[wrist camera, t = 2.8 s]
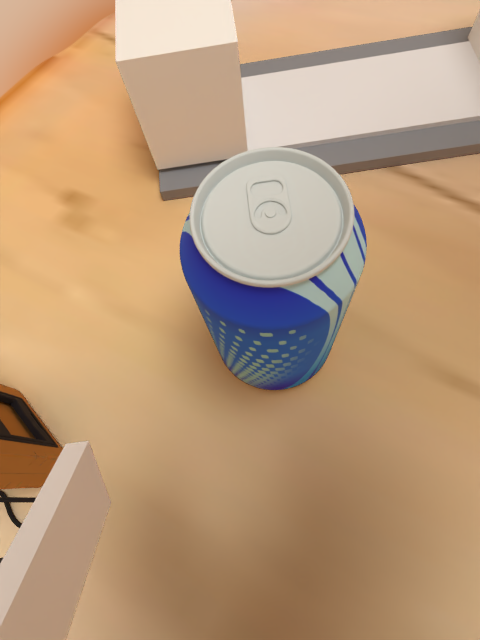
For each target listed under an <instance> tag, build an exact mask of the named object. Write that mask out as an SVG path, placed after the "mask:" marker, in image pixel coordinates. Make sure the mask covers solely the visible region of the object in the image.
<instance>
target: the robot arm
mask: <svg viewBox="0 0 480 640" xmlns="http://www.w3.org/2000/svg"><path fill="white" fill-rule="evenodd" d="M110 505H111V501H110V498H109V495H108V493H107V490H106V487H105V484H104V482H103V479H102V476H101V473H100V471H99V468H98V465H97V462H96V460H95V457H94V454H93V451H92V449H91V446H90V443H89V441H83V442H75V443H68V444H65V446H64V448H63V450H62V452H61V453H60V455H59V457H58V459H57V461H56V463H55V464H54V466H53V468H52V470H51V472H50V474H49V475H48V477H47V479H46V481H45V483H44V485H43V486H42V488H41V490H40V492H39V494H38V496H37V497H36V499H35V501H34V503H33V505H32V507H31V508H30V510H29V512H28V514H27V516H26V518H25V519H24V521H23V523H22V525H21V527H20V529H19V530H18V532H17V534H16V536H15V538H14V540H13V541H12V543H11V545H10V547H9V549H8V551H7V552H6V554H5V556H4V558H0V640H66V638H67V635H68V632H69V629H70V626H71V623H72V620H73V617H74V614H75V611H76V608H77V605H78V602H79V599H80V595H81V592H82V589H83V586H84V583H85V580H86V577H87V574H88V571H89V568H90V565H91V562H92V559H93V556H94V553H95V550H96V547H97V544H98V541H99V538H100V535H101V532H102V529H103V526H104V523H105V520H106V517H107V514H108V511H109V508H110Z"/></svg>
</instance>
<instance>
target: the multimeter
mask: <svg viewBox="0 0 480 640" xmlns="http://www.w3.org/2000/svg"><path fill="white" fill-rule="evenodd" d="M62 450H63V448H62V447H60V445H59V444H58V443H57V441H56V440H55V439H54V437H53V436H52V435H51V433H50V432H49V431H48V429H47V428H46V427H45V425H44V424H43V423H42V421H41V420H40V419H39V417H38V416H37V415H36V413H35V412H34V411H33V409H32V408H31V407H30V405H29V404H28V403H27V400H26V399H25V398H24V397H23V395H22V394H21V393H20V392H19V391H18V390H16V389H13V388H10V387H7V386H4V385H2V384H0V489H13V488H32V487H34V488H39V487H41V486H42V485H43V484H44V483H45V481H46V479H47V477H48V475H49V474H50V472H51V470H52V468H53V466H54V464H55V463H56V461H57V459H58V457H59V455H60V453H61V452H62ZM0 496H1V497H0V502H4V503H5V507H6V510H7V513H8V515H9V517H10V519H11V521H12V522H13V523H14V524H15V525H16V526H17V527H19V528H20V527H21V525H22V524H21V523H19V522H18V521H17V519H16V518H15V517H14V515H13V513H12V510H11V507H10V504H9V502H34V501H35V499H36V498H17V497H7V496H6V495H5V494H4V492H2V491H0Z"/></svg>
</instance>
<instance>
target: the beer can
mask: <svg viewBox="0 0 480 640" xmlns="http://www.w3.org/2000/svg"><path fill="white" fill-rule="evenodd" d="M366 247H367V244H366V234H365V229H364V226H363V223H362V220H361V217H360V215H359V213H358V211H357V209H356V207H355V206H354V204H353V200H352V196H351V193H350V191H349V189H348V187H347V185H346V183H345V181H344V180H343V179H342V177H341V176H340V175H339V174H338V173H337V171H336V170H335V169H333V168H332V167H331V166H330V165H329V164H327V163H326V162H325V161H323V160H321V159H320V158H318V157H316V156H314V155H312V154H309V153H307V152H304V151H300V150H296V149H292V148H284V147H265V148H258V149H253V150H249V151H245V152H243V153H240V154H237V155H235V156H233V157H231V158H229V159H227V160H225V161H224V162H222V163H221V164H219V165H218V166H217V167H215V168H214V169H213V170H212V171H211V172H210V173H209V174H208V175H207V176H206V177H205V178H204V180H203V181H202V182H201V184H200V185H199V187H198V189H197V191H196V193H195V195H194V198H193V201H192V204H191V208H190V213H189V215H188V217H187V219H186V221H185V224H184V227H183V230H182V235H181V240H180V260H181V265H182V270H183V273H184V276H185V279H186V281H187V283H188V286H189V288H190V290H191V292H192V294H193V296H194V299H195V301H196V303H197V305H198V307H199V310H200V312H201V314H202V316H203V318H204V320H205V323H206V325H207V327H208V329H209V331H210V334H211V336H212V338H213V340H214V342H215V344H216V347H217V349H218V351H219V353H220V355H221V357H222V360H223V361H224V363H225V365H226V366H227V367H228V369H229V370H230V371H231V372H232V373H233V374H234V375H235V376H236V377H238V378H239V379H240V380H242V381H244V382H245V383H247V384H249V385H252V386H254V387H257V388H262V389H268V390H282V389H288V388H291V387H294V386H297V385H300V384H302V383H304V382H305V381H307V380H308V379H310V378H311V377H312V376H314V375H315V374H316V373H317V372H318V371H319V370H320V368H321V367H322V366H323V364H324V363H325V361H326V359H327V357H328V355H329V352H330V350H331V347H332V345H333V342H334V340H335V338H336V335H337V333H338V330H339V328H340V325H341V323H342V320H343V318H344V315H345V313H346V311H347V308H348V306H349V303H350V301H351V298H352V296H353V293H354V291H355V288H356V286H357V284H358V281H359V279H360V276H361V274H362V271H363V268H364V264H365V258H366Z"/></svg>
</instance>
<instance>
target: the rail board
mask: <svg viewBox="0 0 480 640" xmlns="http://www.w3.org/2000/svg"><path fill="white" fill-rule="evenodd" d="M116 64H117V66H118V69H119V72H120V74H121V77H122V79H123V82H124V84H125V87H126V90H127V92H128V95H129V97H130V100H131V103H132V105H133V108H134V110H135V113H136V115H137V118H138V121H139V123H140V126H141V128H142V131H143V133H144V136H145V139H146V141H147V144H148V146H149V149H150V152H151V154H152V157H153V159H154V162H155V164H156V167H157V170H159V181H160V193H161V195H162V198H163V200H164V201H165V200H171V199H178V198H185V197H191V196H194V195H195V193H196V191H197V189H198V187H199V185H200V184H201V182H202V181H203V180H204V178H205V177H206V176H207V175H208V174H209V173H210V172H211V171H212V170H213V169H214V168H215V167H217V166H218V165H219V164H221V163H222V162H224V161H225V160H227V159H229V158H231V157H233V156H235V155H237V154H240V153H243V152H245V151H249V150H253V149H258V148H265V147H284V148H292V149H296V150H300V151H304V152H307V153H309V154H312V155H314V156H316V157H318V158H320V159H321V160H323V161H325V162H326V163H327V164H329V165H330V166H331V167H332V168H333V169H335V170H336V171H337V173H338V174H344V173H351V172H357V171H364V170H371V169H377V168H384V167H391V166H397V165H404V164H411V163H417V162H424V161H431V160H437V159H444V158H451V157H457V156H464V155H470V154H477V153H480V10H479V13H478V15H477V17H476V20H475V22H474V24H473V26H472V27H468V28H461V29H455V30H449V31H443V32H437V33H430V34H424V35H418V36H412V37H406V38H400V39H393V40H387V41H381V42H375V43H369V44H363V45H356V46H350V47H344V48H338V49H332V50H326V51H319V52H313V53H307V54H301V55H295V56H289V57H282V58H276V59H270V60H264V61H258V62H251V63H245V64H240V61H239V50H238V40H237V34H236V28H235V22H234V16H233V10H232V4H231V0H116Z"/></svg>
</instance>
